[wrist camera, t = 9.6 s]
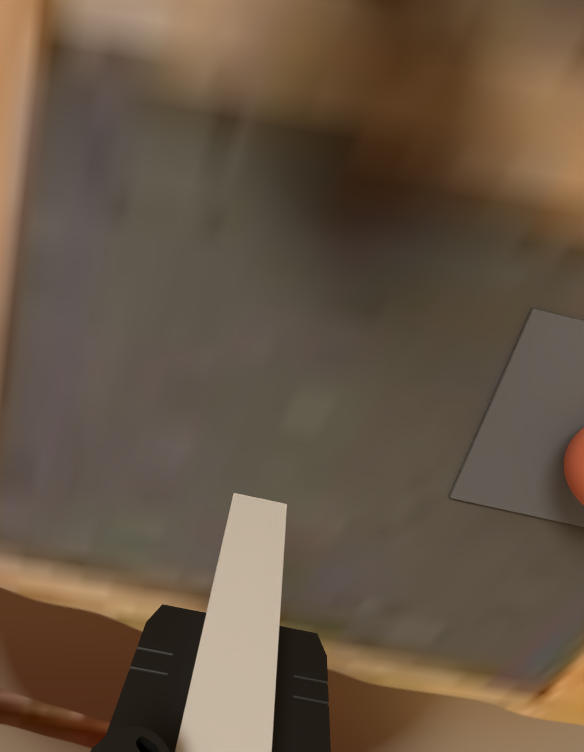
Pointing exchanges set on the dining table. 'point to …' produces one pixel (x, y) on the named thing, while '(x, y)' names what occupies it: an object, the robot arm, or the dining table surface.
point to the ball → (575, 465)
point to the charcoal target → (531, 425)
